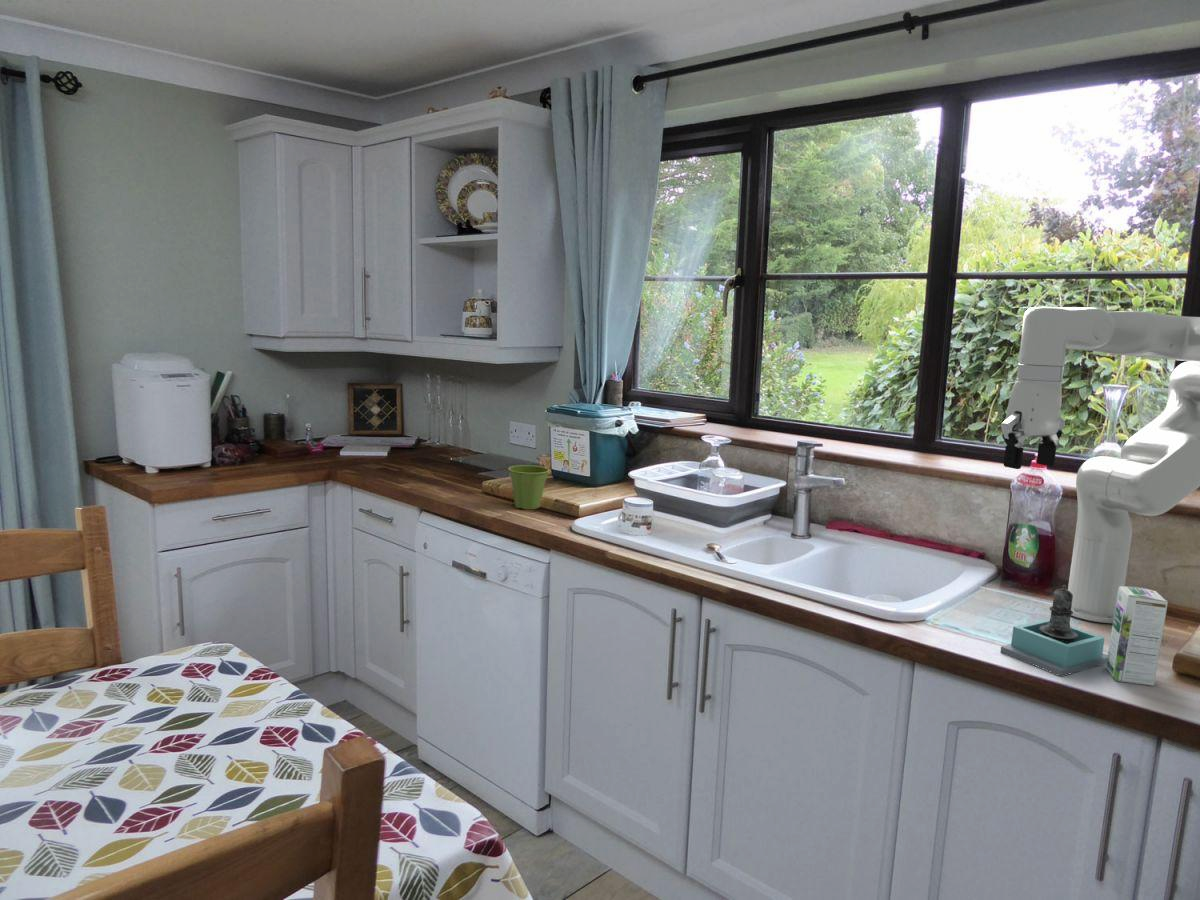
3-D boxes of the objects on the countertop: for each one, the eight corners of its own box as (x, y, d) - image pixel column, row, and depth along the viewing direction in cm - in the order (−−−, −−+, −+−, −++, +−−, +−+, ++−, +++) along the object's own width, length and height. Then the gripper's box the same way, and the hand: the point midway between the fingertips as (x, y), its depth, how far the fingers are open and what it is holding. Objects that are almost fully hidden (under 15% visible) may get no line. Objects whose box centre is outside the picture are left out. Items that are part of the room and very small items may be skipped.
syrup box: (1104, 667, 141) (1116, 584, 138) (1144, 673, 139) (1157, 589, 137) (1114, 681, 135) (1126, 595, 133) (1156, 687, 134) (1169, 600, 131)
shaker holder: (1050, 639, 152) (1053, 615, 152) (1111, 662, 143) (1114, 637, 142) (1000, 651, 146) (1003, 627, 145) (1060, 676, 136) (1064, 650, 136)
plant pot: (523, 513, 233) (524, 474, 231) (499, 505, 242) (500, 467, 240) (556, 508, 240) (558, 470, 239) (532, 500, 249) (533, 463, 247)
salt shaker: (1061, 644, 147) (1070, 579, 145) (1082, 658, 142) (1092, 590, 140) (1029, 644, 147) (1038, 578, 145) (1049, 657, 141) (1058, 589, 139)
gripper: (1049, 373, 161) (1039, 460, 164) (991, 373, 153) (980, 465, 156) (1087, 376, 155) (1076, 467, 158) (1028, 376, 147) (1017, 472, 149)
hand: (1028, 466), depth 157 cm, fingers open, 9 cm apart
